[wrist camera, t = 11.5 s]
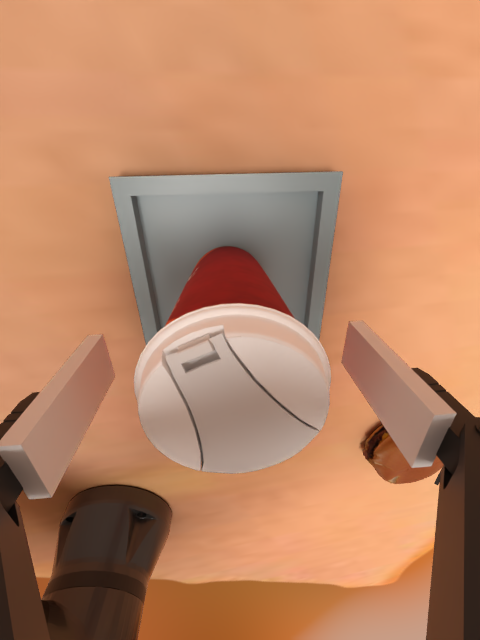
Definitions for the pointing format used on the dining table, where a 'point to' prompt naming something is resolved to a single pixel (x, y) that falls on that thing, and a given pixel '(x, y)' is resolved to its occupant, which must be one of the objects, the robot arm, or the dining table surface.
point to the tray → (228, 234)
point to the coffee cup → (232, 372)
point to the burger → (394, 460)
